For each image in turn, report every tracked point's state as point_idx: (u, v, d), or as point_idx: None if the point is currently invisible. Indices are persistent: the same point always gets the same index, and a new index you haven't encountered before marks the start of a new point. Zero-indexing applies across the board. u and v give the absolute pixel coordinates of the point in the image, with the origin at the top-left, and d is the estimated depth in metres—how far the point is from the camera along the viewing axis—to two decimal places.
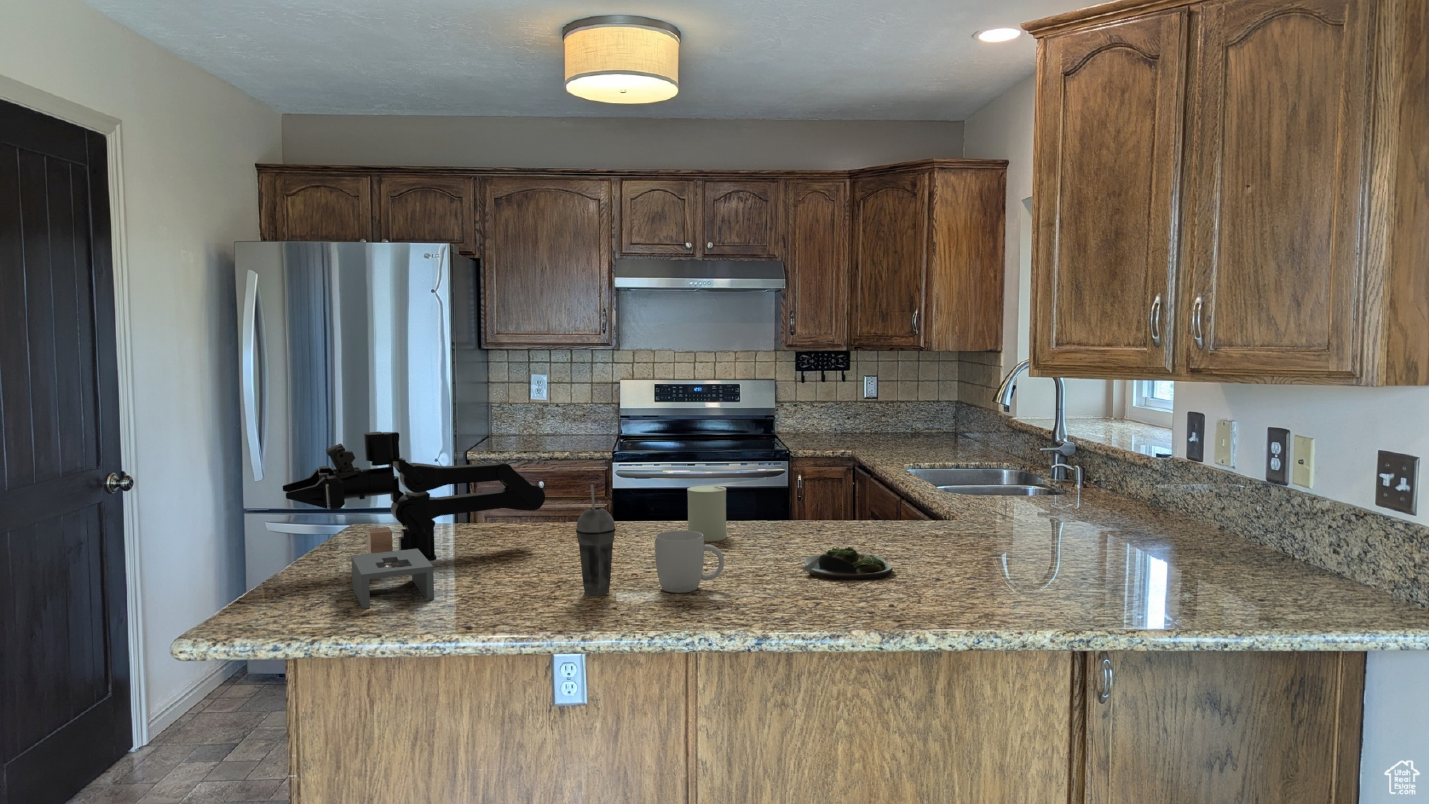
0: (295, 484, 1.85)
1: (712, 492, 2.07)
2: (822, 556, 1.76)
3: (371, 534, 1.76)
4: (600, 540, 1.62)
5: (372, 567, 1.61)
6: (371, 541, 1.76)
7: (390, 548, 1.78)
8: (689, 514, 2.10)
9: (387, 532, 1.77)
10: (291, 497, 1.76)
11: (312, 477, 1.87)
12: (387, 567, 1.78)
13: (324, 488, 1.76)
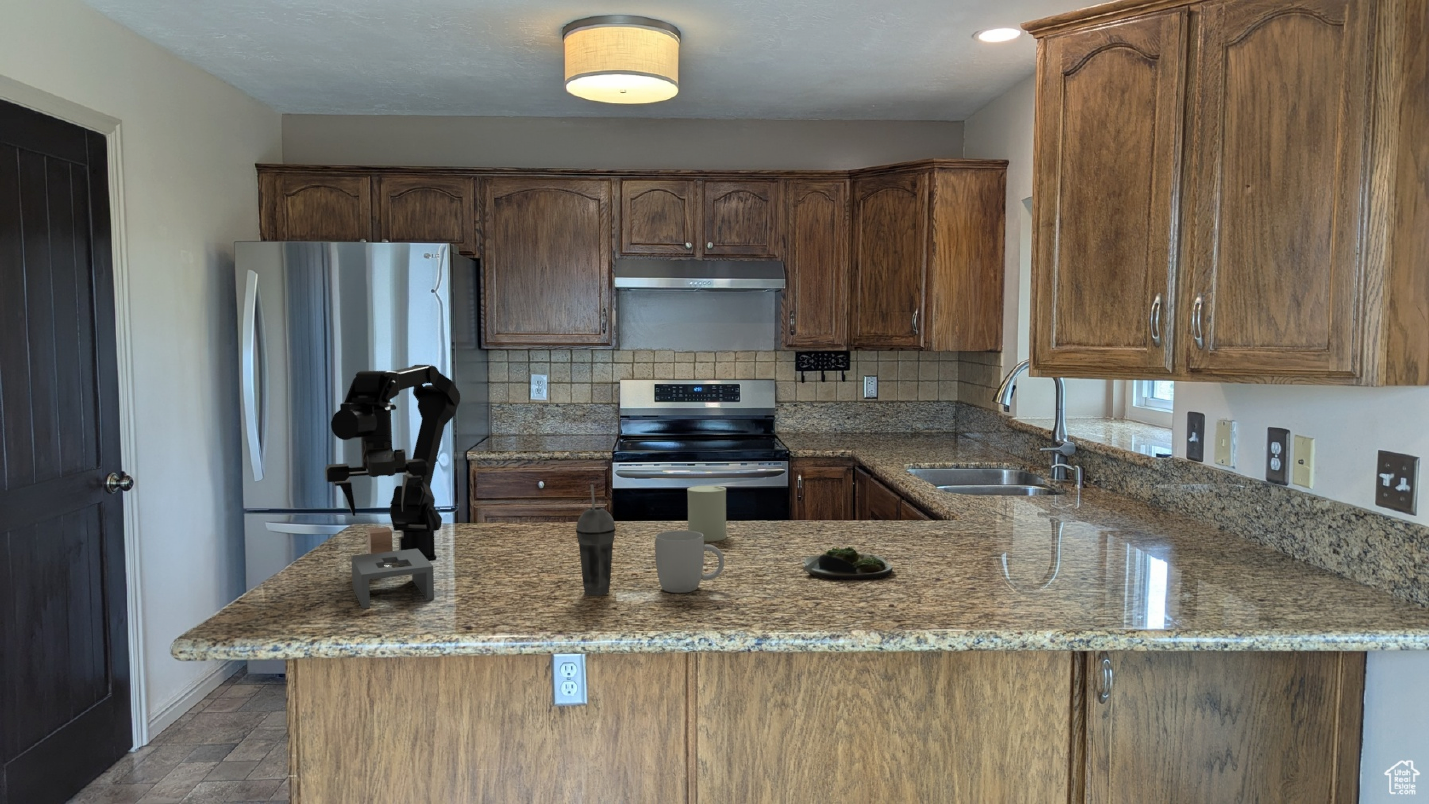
0: None
1: (712, 492, 2.07)
2: (822, 556, 1.76)
3: (371, 534, 1.76)
4: (600, 540, 1.62)
5: (372, 567, 1.61)
6: (371, 541, 1.76)
7: (390, 548, 1.78)
8: (689, 514, 2.10)
9: (387, 532, 1.77)
10: None
11: (351, 487, 1.75)
12: (387, 567, 1.78)
13: None
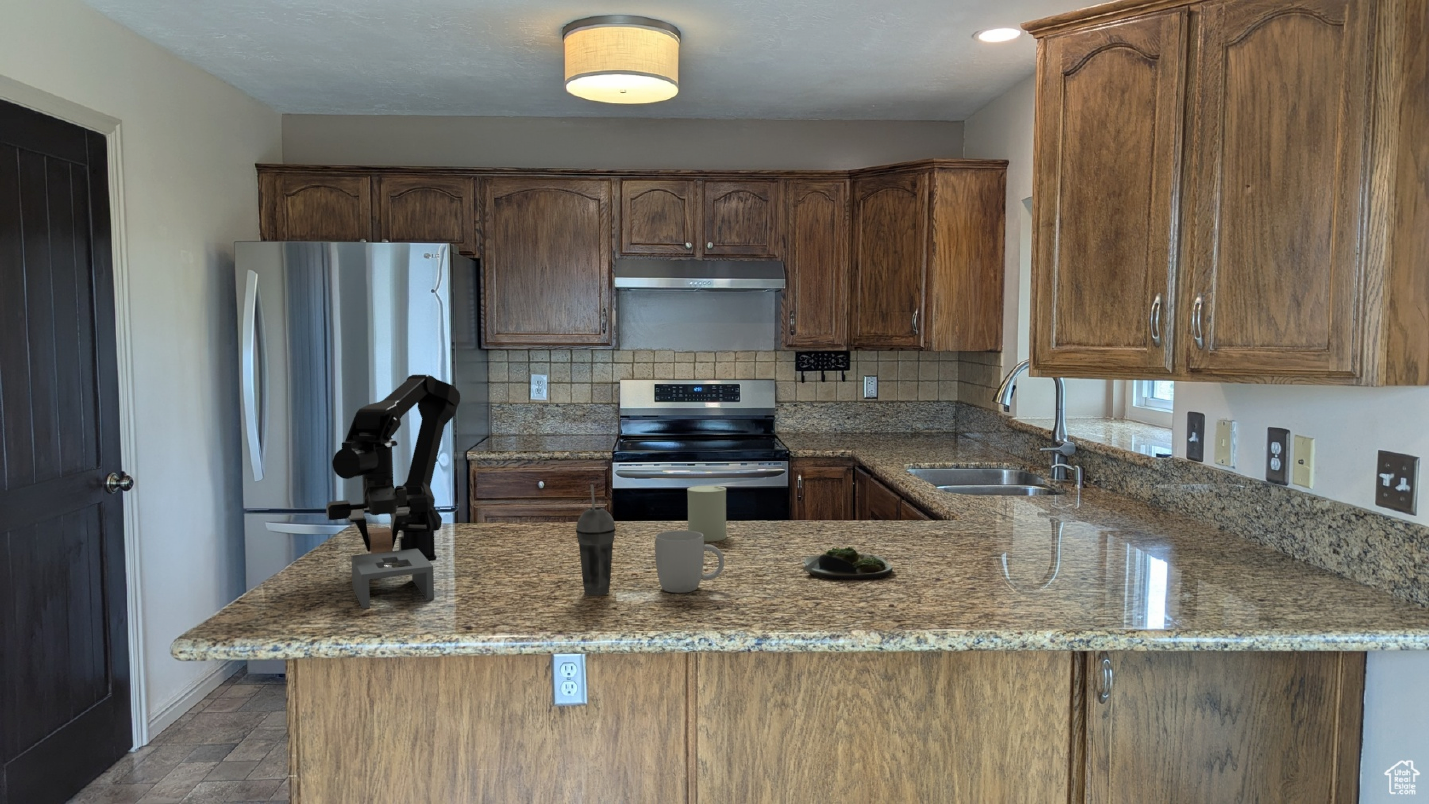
0: (368, 539, 1.78)
1: (712, 492, 2.07)
2: (822, 556, 1.76)
3: (371, 534, 1.76)
4: (600, 540, 1.62)
5: (372, 567, 1.61)
6: (371, 541, 1.76)
7: (390, 548, 1.78)
8: (689, 514, 2.10)
9: (387, 532, 1.77)
10: None
11: None
12: (387, 567, 1.78)
13: None
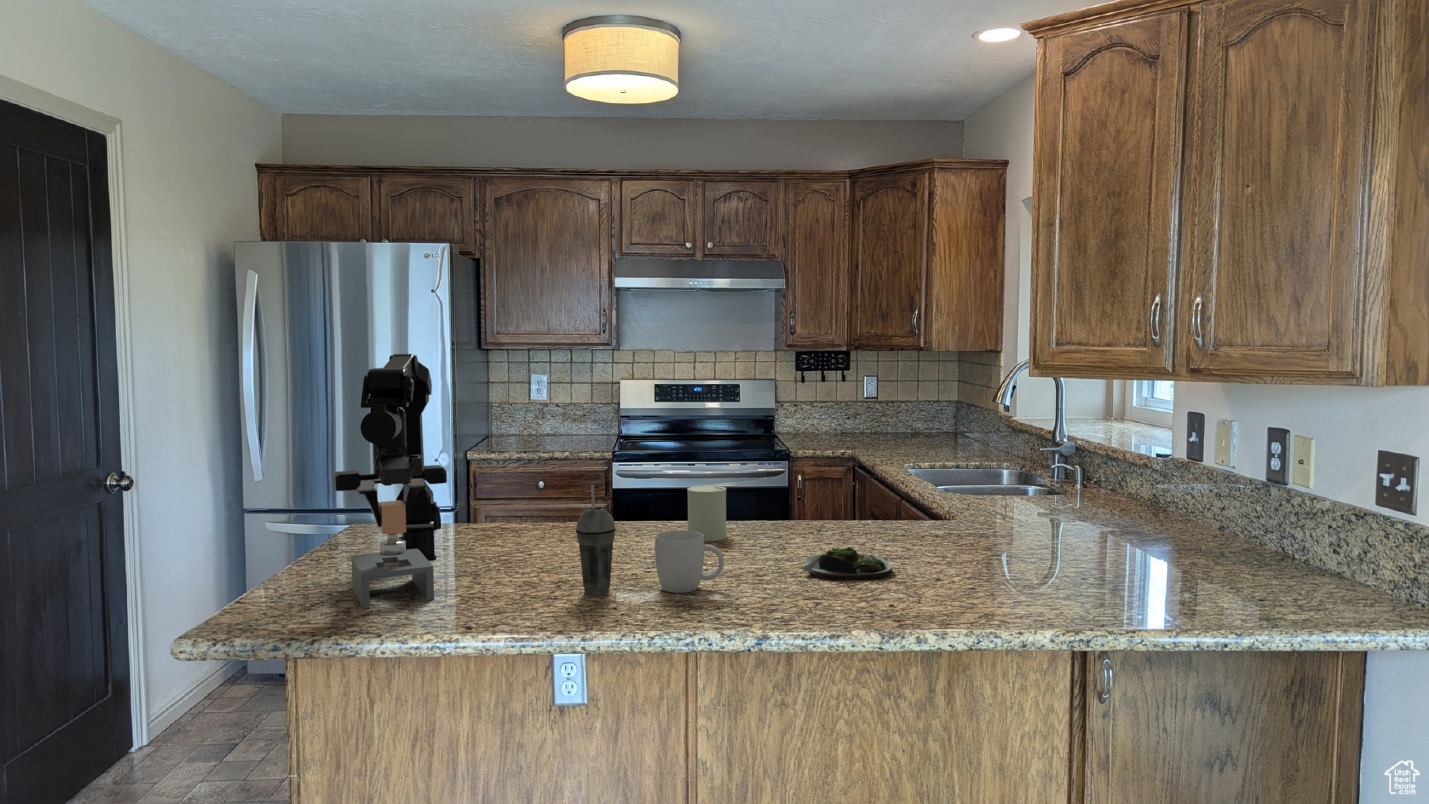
0: (379, 513, 1.61)
1: (712, 492, 2.07)
2: (822, 556, 1.76)
3: (382, 507, 1.59)
4: (600, 540, 1.62)
5: (372, 567, 1.61)
6: (382, 515, 1.60)
7: (403, 523, 1.61)
8: (689, 514, 2.10)
9: (400, 505, 1.61)
10: None
11: None
12: (400, 544, 1.62)
13: None
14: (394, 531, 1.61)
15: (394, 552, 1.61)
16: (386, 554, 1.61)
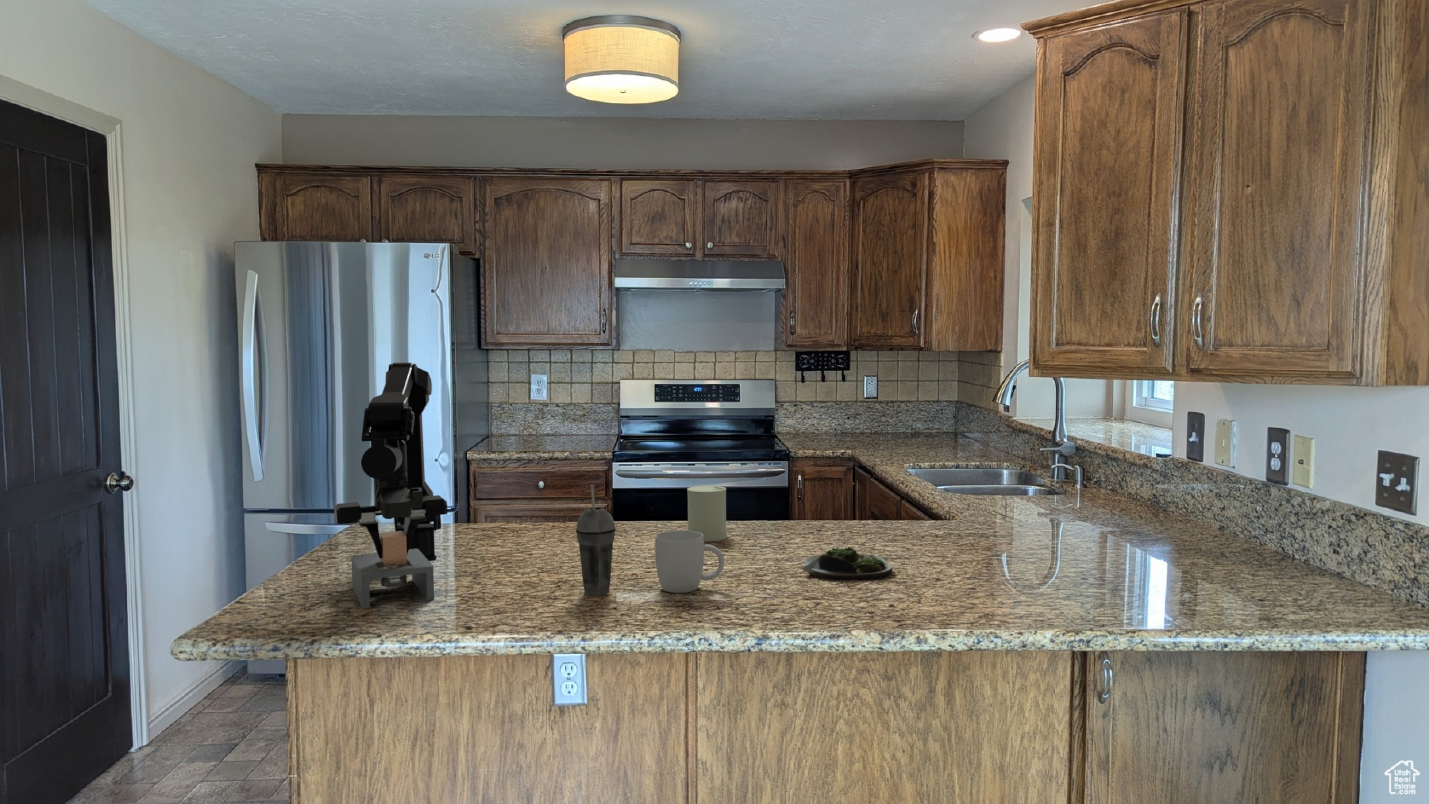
0: (380, 545, 1.62)
1: (712, 492, 2.07)
2: (822, 556, 1.76)
3: (383, 539, 1.61)
4: (600, 540, 1.62)
5: (372, 567, 1.61)
6: (383, 547, 1.61)
7: (404, 554, 1.62)
8: (689, 514, 2.10)
9: (401, 537, 1.62)
10: None
11: None
12: None
13: None
14: (395, 563, 1.62)
15: (395, 583, 1.62)
16: (387, 585, 1.62)
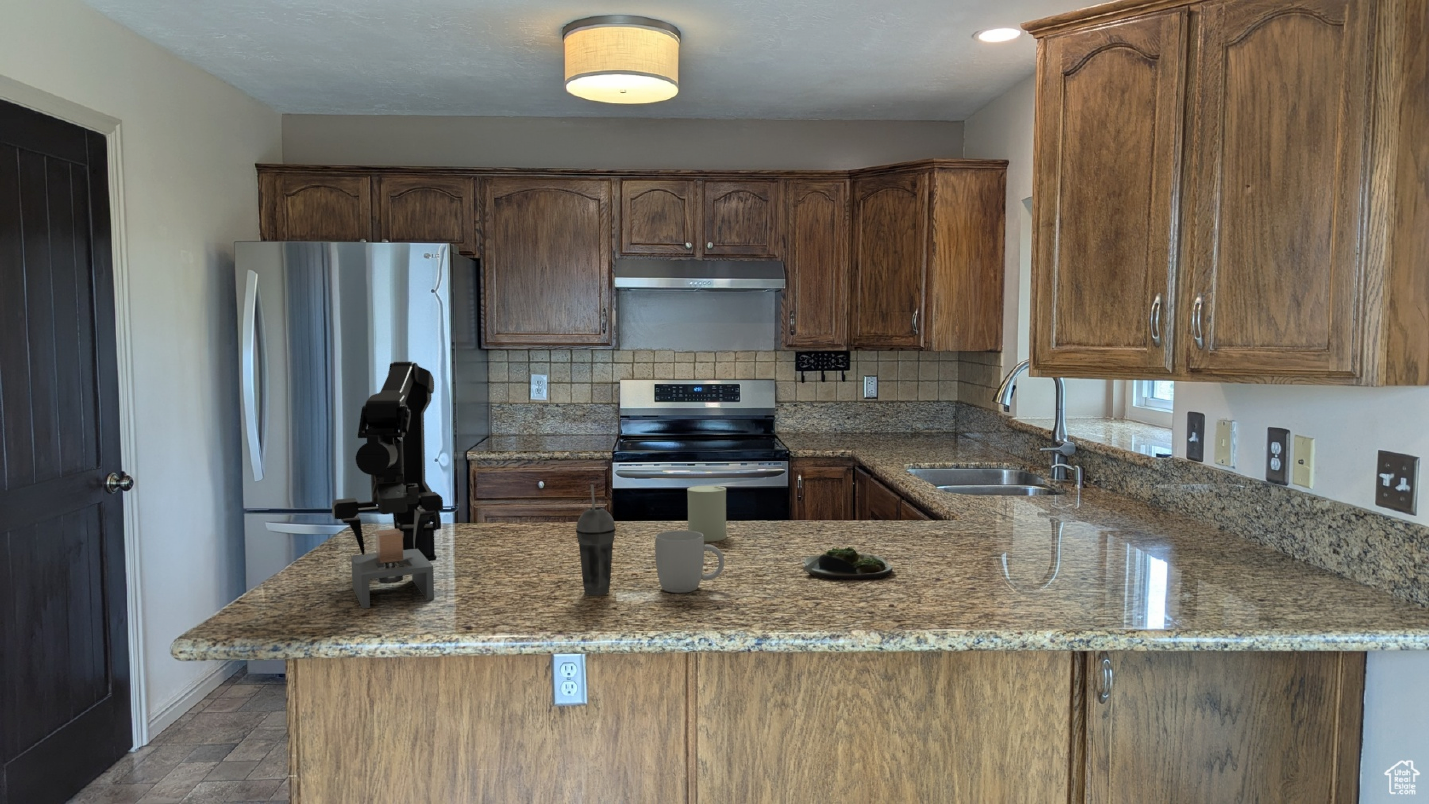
0: (363, 541, 1.64)
1: (712, 492, 2.07)
2: (822, 556, 1.76)
3: (380, 536, 1.64)
4: (600, 540, 1.62)
5: (372, 567, 1.61)
6: (380, 544, 1.64)
7: (400, 551, 1.66)
8: (689, 514, 2.10)
9: (397, 534, 1.65)
10: None
11: (360, 524, 1.63)
12: None
13: None
14: (392, 559, 1.65)
15: (392, 580, 1.66)
16: (384, 581, 1.65)
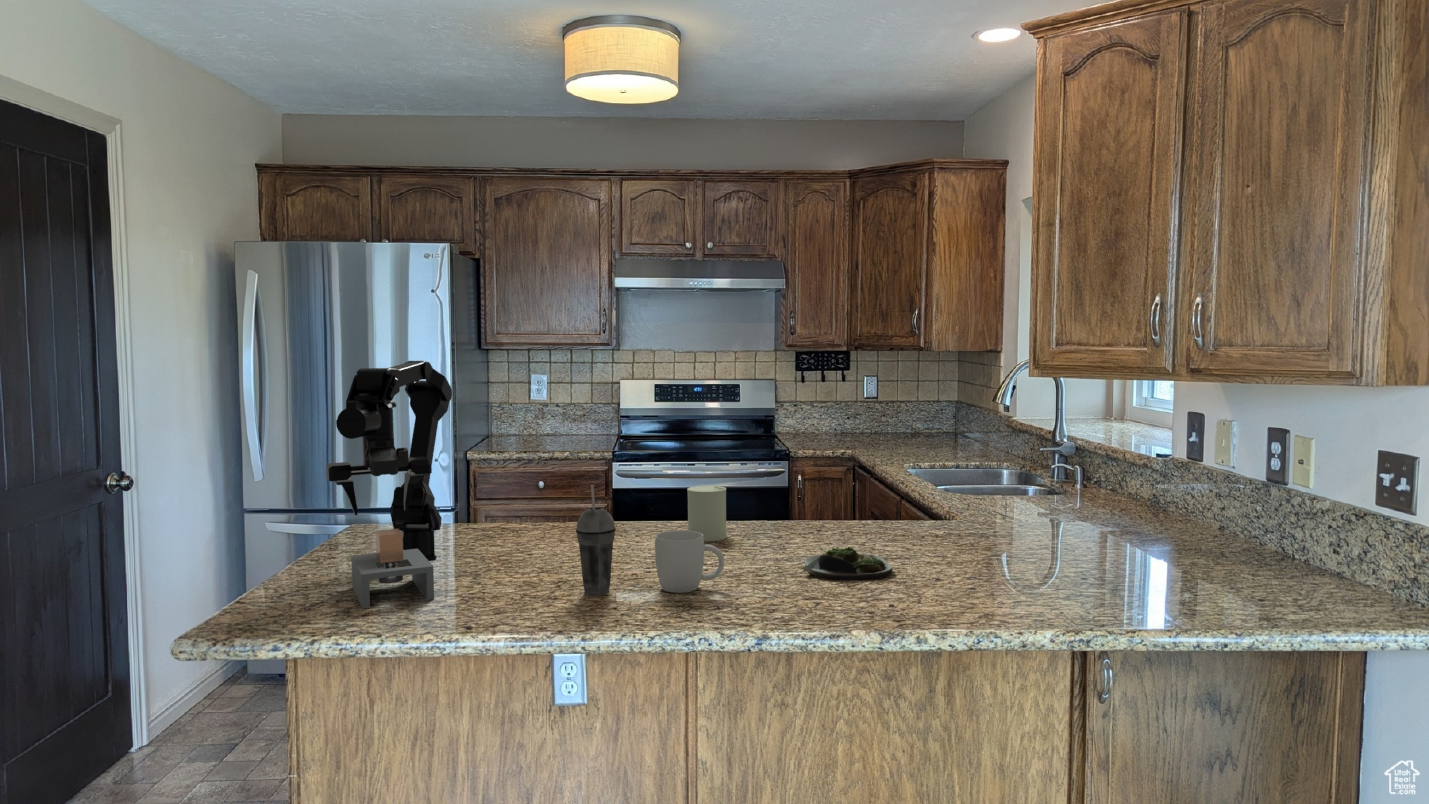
0: (356, 503, 1.74)
1: (712, 492, 2.07)
2: (822, 556, 1.76)
3: (380, 536, 1.64)
4: (600, 540, 1.62)
5: (372, 567, 1.61)
6: (380, 544, 1.64)
7: (400, 551, 1.66)
8: (689, 514, 2.10)
9: (397, 534, 1.65)
10: None
11: (353, 487, 1.73)
12: None
13: None
14: (392, 559, 1.65)
15: (392, 580, 1.66)
16: (384, 581, 1.65)
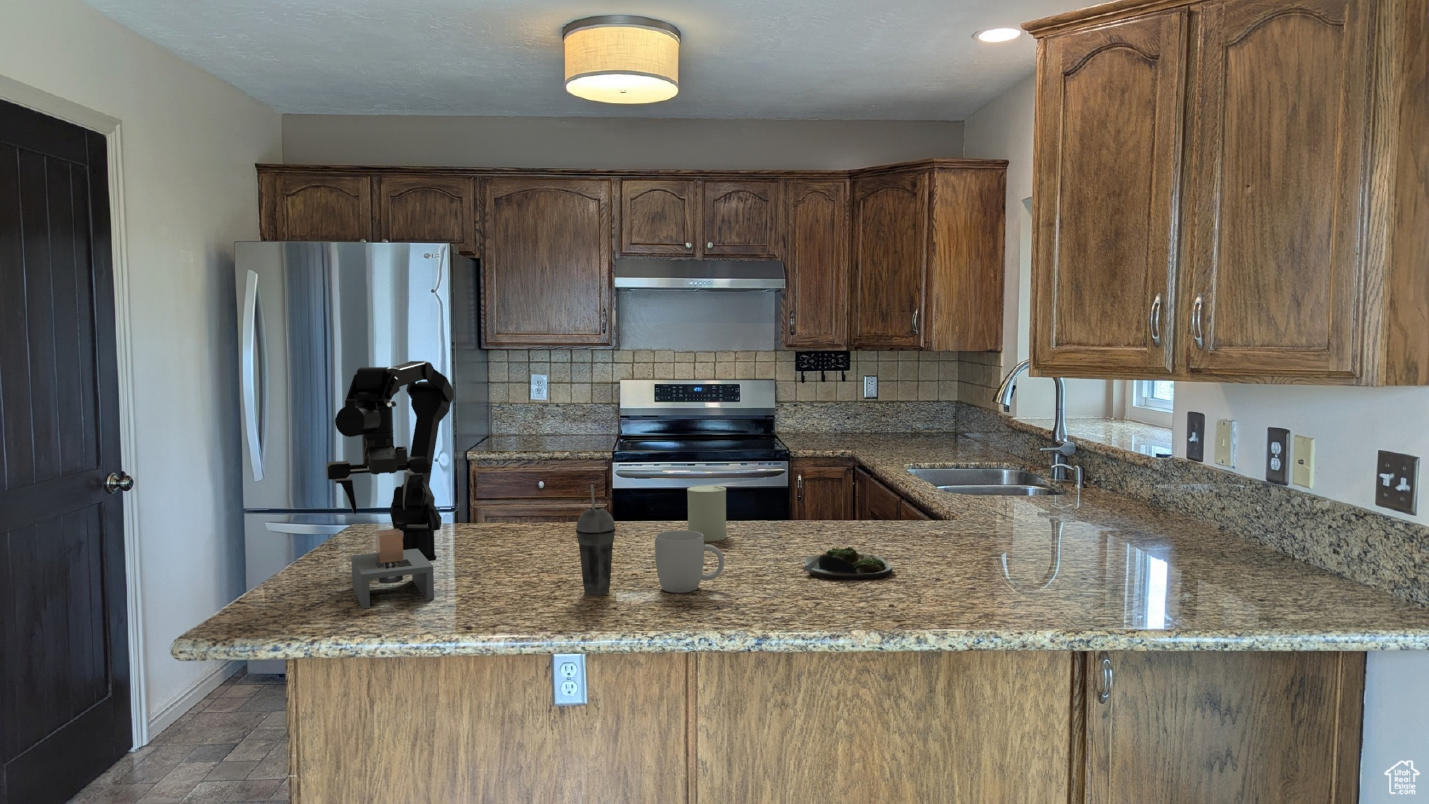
0: None
1: (712, 492, 2.07)
2: (822, 556, 1.76)
3: (380, 536, 1.64)
4: (600, 540, 1.62)
5: (372, 567, 1.61)
6: (380, 544, 1.64)
7: (400, 551, 1.66)
8: (689, 514, 2.10)
9: (397, 534, 1.65)
10: None
11: (352, 485, 1.73)
12: None
13: None
14: (392, 559, 1.65)
15: (392, 580, 1.66)
16: (384, 581, 1.65)
